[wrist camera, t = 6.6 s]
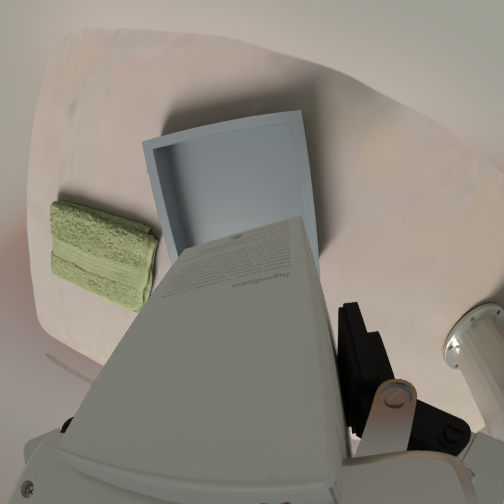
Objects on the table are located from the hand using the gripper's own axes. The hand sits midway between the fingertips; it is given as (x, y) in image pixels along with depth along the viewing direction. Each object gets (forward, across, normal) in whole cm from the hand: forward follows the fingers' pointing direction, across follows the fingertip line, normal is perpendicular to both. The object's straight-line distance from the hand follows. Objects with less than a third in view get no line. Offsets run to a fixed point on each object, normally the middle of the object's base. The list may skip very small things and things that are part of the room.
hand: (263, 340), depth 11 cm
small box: (+3, 0, 0) cm, 3 cm away
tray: (+20, +4, -1) cm, 21 cm away
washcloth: (+21, +24, +3) cm, 32 cm away
